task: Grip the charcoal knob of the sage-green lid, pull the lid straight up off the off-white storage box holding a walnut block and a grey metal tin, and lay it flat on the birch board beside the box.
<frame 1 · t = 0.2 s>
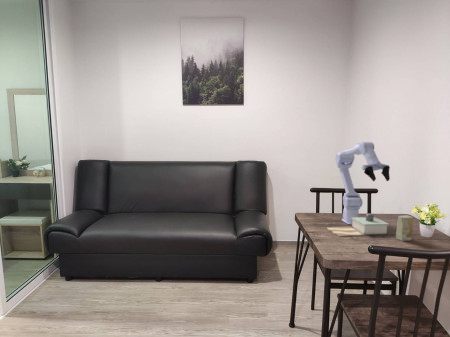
hand: (381, 180, 179), 30 cm above the table, tool tilted 45°, fingers open, 7 cm apart
lid: (369, 222, 194), point 4 cm above the table, touching storage box
storage box: (368, 230, 194), on the table
skincare box: (403, 239, 180), on the table
birch board: (344, 231, 191), on the table
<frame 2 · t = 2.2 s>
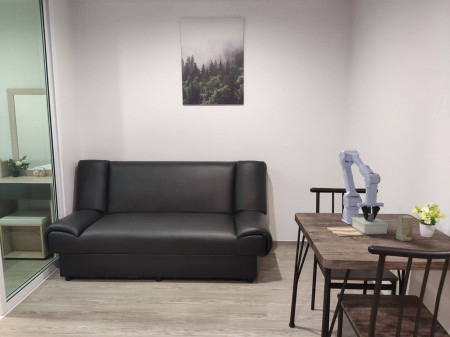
hand: (369, 219, 194), 6 cm above the table, tool pointing down, fingers closed on lid, 4 cm apart
lid: (369, 222, 194), point 4 cm above the table, touching gripper, storage box
everything else where it was.
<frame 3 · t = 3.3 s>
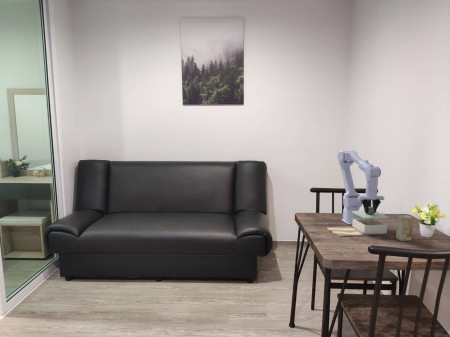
hand: (370, 212, 193), 10 cm above the table, tool pointing down, fingers closed on lid, 4 cm apart
lid: (369, 216, 193), point 8 cm above the table, touching gripper
everything else where it was.
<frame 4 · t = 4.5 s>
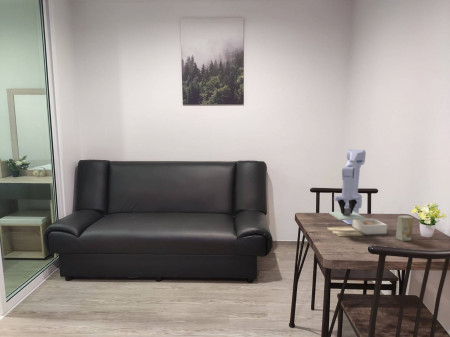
hand: (346, 213, 190), 10 cm above the table, tool pointing down, fingers closed on lid, 4 cm apart
lid: (346, 217, 190), point 8 cm above the table, touching gripper
everything else where it was.
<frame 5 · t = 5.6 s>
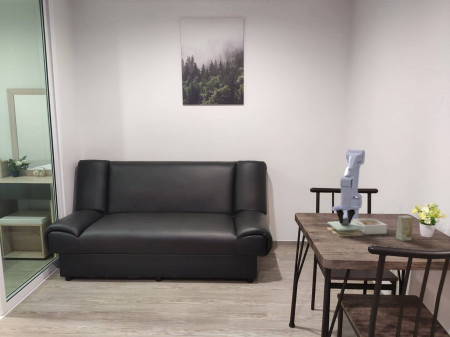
hand: (344, 223, 191), 5 cm above the table, tool pointing down, fingers closed on lid, 4 cm apart
lid: (344, 227, 191), point 3 cm above the table, touching gripper
everything else where it was.
when the fingers open (4 cm above the table, at t = 6.6 s): lid drops 1 cm, resting on birch board.
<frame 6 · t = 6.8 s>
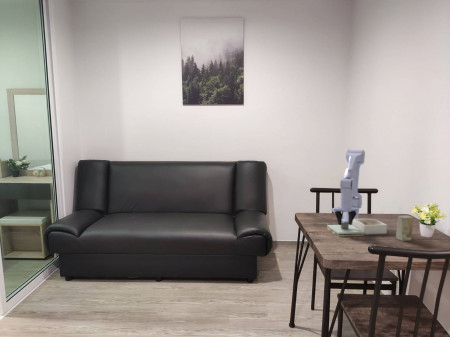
hand: (344, 224, 191), 4 cm above the table, tool pointing down, fingers open, 5 cm apart
lid: (344, 230, 191), point 1 cm above the table, touching birch board
everything else where it was.
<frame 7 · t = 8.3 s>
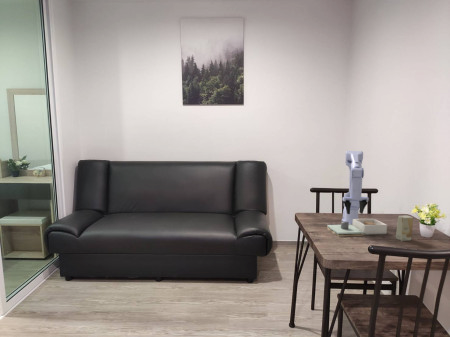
hand: (354, 213, 194), 9 cm above the table, tool pointing down, fingers open, 7 cm apart
nothing on the table moved.
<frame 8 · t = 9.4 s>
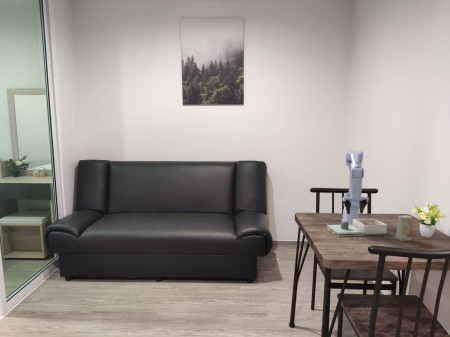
hand: (354, 213, 194), 9 cm above the table, tool pointing down, fingers open, 7 cm apart
nothing on the table moved.
at the end: lid inside the target area on the birch board (0.0 cm from its centre), point 0.6 cm above the birch board's base; lid tilted 0°; the gripper is holding nothing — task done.
